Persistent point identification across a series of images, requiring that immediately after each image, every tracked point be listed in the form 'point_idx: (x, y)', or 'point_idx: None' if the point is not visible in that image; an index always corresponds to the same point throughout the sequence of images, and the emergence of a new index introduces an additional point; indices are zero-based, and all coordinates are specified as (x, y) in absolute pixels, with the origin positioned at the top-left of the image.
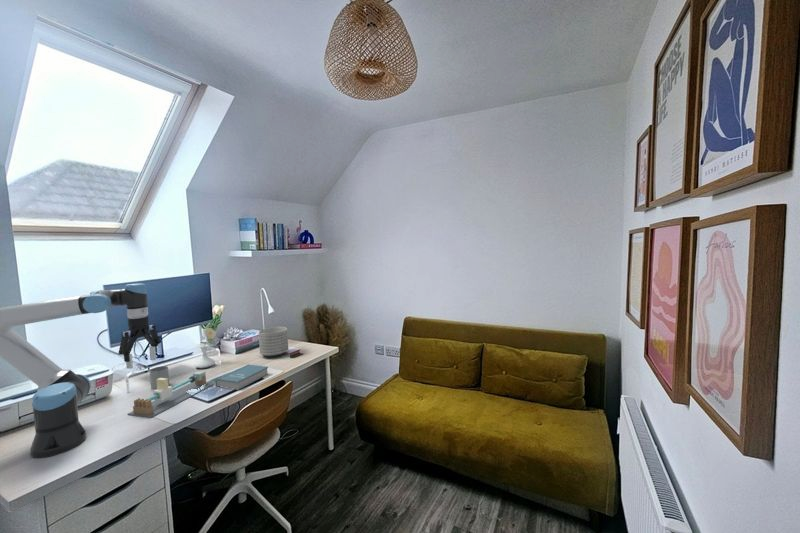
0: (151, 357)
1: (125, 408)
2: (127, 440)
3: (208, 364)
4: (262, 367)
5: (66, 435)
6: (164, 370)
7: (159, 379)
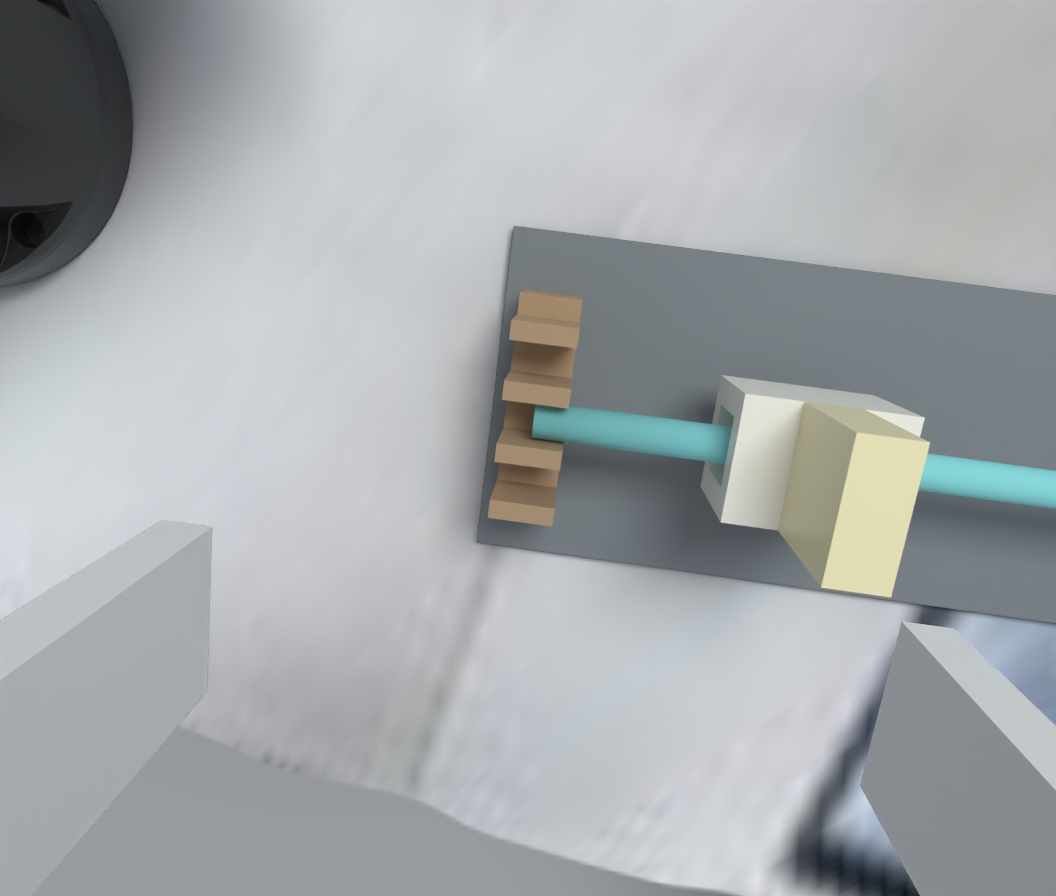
0: (927, 727)
1: (655, 39)
2: None
3: None
4: None
5: None
6: None
7: (849, 492)
